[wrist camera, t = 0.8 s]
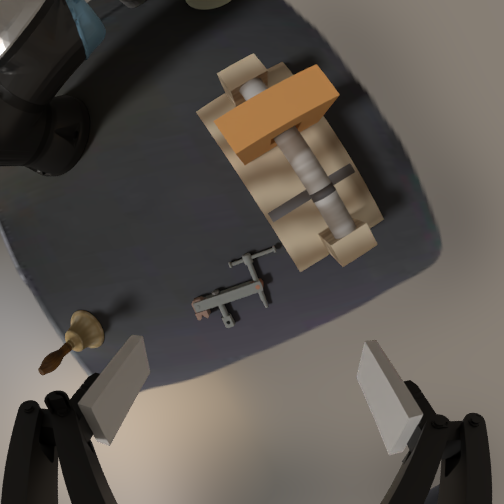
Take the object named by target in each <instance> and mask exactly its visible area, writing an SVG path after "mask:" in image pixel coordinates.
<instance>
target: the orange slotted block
mask: <svg viewBox="0 0 504 504" xmlns="http://www.w3.org/2000/svg"><path fill="white" fill-rule="evenodd" d="M339 95H340V94H339V93H338V92H337V90H336V89H335V88H334V86H333V85H332V84H331V82H330V81H329V80H328V78H327V77H326V76H325V74H324V73H323V72H322V70H321V69H320V68H319V67H318V65H317V64H316V65H314V66H312V67H309V68H307V69H305V70H303V71H301V72H299V73H297V74H295V75H293V76H291V77H289V78H287V79H285V80H283V81H281V82H279V83H277V84H275V85H274V86H272V87H270V88H268V89H266V90H264V91H263V92H261V93H259V94H257V95H256V96H254V97H252V98H250V99H249V100H247V101H245V102H243V103H242V104H240V105H238V106H237V107H235V108H234V109H232V110H230V111H229V112H227V113H225V114H224V115H222V116H221V117H219V118H218V119H216V120H215V121H213V122H214V123H215V124H216V126H217V127H218V129H219V130H220V132H221V133H222V135H223V136H224V137H225V139H226V140H227V142H228V143H229V145H230V146H231V148H232V149H233V151H234V152H235V154H236V155H237V156H238V157H239V159H240V160H241V161H242V162H243V164H244V165H246V164H248V163H250V162H251V161H253V160H254V159H256V158H258V157H259V156H261V155H262V154H264V153H266V152H267V151H269V150H271V149H272V148H274V147H276V146H277V144H276V142H275V141H274V139H273V138H274V137H276V136H278V135H279V134H281V133H283V132H284V131H286V130H288V129H290V128H291V127H293V126H296V128H297V129H298V131H299V132H301V131H303V130H305V129H307V128H308V127H310V126H312V125H314V124H315V123H317V122H319V120H320V119H321V118H322V117H323V115H324V114H325V113H326V112H327V110H328V109H329V108H330V106H331V105H332V104H333V103H334V101H335V100H336V99H337V98H338V96H339Z"/></svg>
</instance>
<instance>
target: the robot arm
mask: <svg viewBox="0 0 504 504" xmlns="http://www.w3.org/2000/svg"><path fill="white" fill-rule="evenodd" d="M105 33H106V31H105V27H104V25H103V23H102V22H101V21H100V19H99V18H98V16H97V15H96V14H95V12H94V11H93V10H92V9H91V7H90V6H89V5H88V4H87V3H86V2H85V0H0V166H25V167H27V168H29V169H31V170H33V171H35V172H37V173H38V174H40V175H43V176H59V175H62V174H64V173H66V172H67V171H69V170H70V169H71V168H72V167H73V166H74V165H75V164H76V163H77V161H78V160H79V158H80V157H81V155H82V153H83V151H84V149H85V146H86V143H87V140H88V136H89V129H90V119H89V114H88V110H87V108H86V106H85V105H84V103H83V102H82V101H80V100H79V99H77V98H74V97H72V96H68V95H61V96H56V97H54V96H55V95H56V93H57V92H58V91H59V90H60V88H61V87H62V86H63V85H64V83H65V82H66V81H67V80H68V79H69V77H70V76H71V75H72V74H73V73H74V72H75V70H76V69H77V68H78V67H79V66H80V65H81V64H82V63H83V61H84V60H87V59H88V58H89V55H90V54H91V53H92V52H93V51H94V50H95V49H96V47H97V46H98V45H99V44H100V43H101V42H102V41H103V39H104V38H105ZM149 374H150V369H149V364H148V360H147V355H146V350H145V345H144V340H143V336H136V335H131V336H130V338H129V339H128V340H127V341H126V343H125V344H124V345H123V346H122V348H121V349H120V350H119V351H118V352H117V354H116V355H115V356H114V357H113V359H112V360H111V361H110V362H109V364H108V365H107V366H106V368H105V369H104V370H103V371H102V373H101V374H99V373H94V374H92V375H91V376H89V377H88V378H87V379H86V380H85V382H84V384H82V385H81V387H80V389H78V390H77V391H76V393H75V394H74V395H73V396H72V398H71V399H69V397H68V395H67V394H66V393H65V392H63V391H53V392H51V393H49V394H47V396H46V397H45V400H44V402H45V404H46V406H47V407H48V409H41V408H40V406H39V404H38V403H37V402H36V401H33V400H29V401H25V402H23V403H22V404H21V405H20V407H19V409H18V413H17V416H16V420H15V424H14V428H13V432H12V436H11V441H10V445H9V450H8V454H7V460H6V466H5V472H4V479H3V487H2V499H1V504H58V457H59V461H60V465H61V469H62V473H63V477H64V480H65V484H66V487H67V490H68V493H69V496H70V500H71V503H72V504H117V502H116V500H115V498H114V496H113V494H112V492H111V489H110V487H109V485H108V483H107V480H106V478H105V476H104V473H103V471H102V468H101V466H100V463H99V461H98V458H97V455H96V452H95V450H94V447H93V444H92V442H91V440H90V439H91V437H92V435H94V437H95V439H96V440H97V442H100V443H103V444H106V445H109V446H110V444H111V443H112V441H113V439H114V437H115V435H116V433H117V431H118V430H119V428H120V426H121V424H122V422H123V420H124V418H125V417H126V415H127V413H128V411H129V409H130V407H131V406H132V404H133V402H134V400H135V398H136V397H137V395H138V393H139V391H140V390H141V388H142V386H143V384H144V382H145V381H146V379H147V377H148V375H149ZM356 377H357V380H358V382H359V384H360V387H361V389H362V391H363V394H364V396H365V398H366V401H367V403H368V405H369V407H370V410H371V412H372V415H373V417H374V419H375V422H376V424H377V427H378V429H379V432H380V434H381V437H382V439H383V441H384V444H385V447H386V449H387V452H388V454H389V455H392V454H396V453H400V452H403V450H404V448H405V447H406V445H408V447H409V452H408V454H407V455H406V457H405V458H404V460H403V461H402V462H403V464H402V466H401V468H400V470H399V472H398V474H397V475H396V477H395V479H394V481H393V483H392V485H391V487H390V488H389V490H388V492H387V494H386V495H385V497H384V499H383V500H382V502H381V504H424V502H425V499H426V497H427V495H428V493H429V490H430V488H431V485H432V483H433V480H434V477H435V474H436V472H437V469H438V467H439V464H440V461H441V460H442V461H441V476H440V487H439V496H438V504H492V476H491V462H490V452H489V443H488V436H487V430H486V424H485V420H484V418H483V417H482V416H481V415H479V414H477V413H469V414H467V415H466V416H465V418H464V419H463V421H449V419H448V418H446V417H445V416H443V415H438V414H436V413H435V411H434V410H433V408H432V407H431V405H430V404H429V402H428V401H427V399H426V398H425V396H424V395H423V393H421V390H420V389H419V387H418V386H417V385H416V384H415V383H413V382H412V381H411V380H409V381H403V380H402V379H401V377H400V376H399V374H398V373H397V371H396V369H395V368H394V366H393V365H392V363H391V362H390V360H389V359H388V357H387V356H386V354H385V353H384V351H383V350H382V348H381V347H380V345H379V344H378V342H377V341H376V340H372V341H365V342H364V347H363V351H362V356H361V360H360V364H359V368H358V373H357V376H356Z"/></svg>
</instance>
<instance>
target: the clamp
mask: <svg viewBox="0 0 504 504" xmlns="http://www.w3.org/2000/svg"><path fill="white" fill-rule="evenodd" d="M273 251H274V252H276V248H275V246H272V248H271V249H268V250H265V251H262V252H260V253H257V254H254V255H251V254H250V253H247V254H244V255H243V256H242V258H243V259H240V260H238V261H235V262H232V263H231V262H229V267H230V268H232V267H233V266H234V265H237V264H240V263H242V262H244V263H245V265H247V266H248V268H249V271H250V273H251V276H252V278H253V280H251V281H249V282H246V283H243V284H240V285H237V286H234V287H231V288H228V289H226V290H223V291H220V292H219V290H214V291H213V292H212V294H211V295H208V296H205V297H202V296H200V297H197V298H194V300H193V302H192V304H191V305H192V307H193V309H194V311H195V315H196V317H197V319H198V320H201V318H202V316H204V317H206V318H208V317H209V315H210V313H211V311H210V308H213V307H216V306H219V309H220V311H221V313H222V315H223V316H222V317H221V318H222V320H223V322H224V324H225V326H226V328H230V327H233V326H234V325H235V322H234V319H233V317H232V315H231V313H228V311H227V309H226V307H225V305H224V304H225V303H228V302H231V301H234V300H237V299H240V298H243V297H246V296H249V295H252V294H255V293H259V295H260V298H261V300H262V301H263V303H264V306H265V308H267V307H268V304H267V301H266V297H265V294H264V292H263V281H262V279H258V277H257V274H256V272H255V269H254V267H253V264H252V262H253V259H254V258H256V257H259V256H262V255H265V254H267V253H270V252H273ZM252 281H253V283H252ZM228 321H230V322H228Z"/></svg>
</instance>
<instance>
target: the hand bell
mask: <svg viewBox="0 0 504 504" xmlns="http://www.w3.org/2000/svg"><path fill="white" fill-rule="evenodd" d="M65 340H66V343H65V344H64V345H63V346H62V347H61V348H60V349H59V350H57V351H55V352H52V353H50V354H49V355H48V356H46V357H45V358H44V360H43V361H42V364H41V366H40V368H39V369H38V370H39V372H40V374H41V375H45V374H47V373H50V372H52V371H54V370H55V369H56V368H57V367H58V366H59V365H60V363H61V361H62V359H63V357H64V356H65V355H66V354H68V353H69V352H70V351H71V350H72V349H73V350H74V351H78V352H79V351H82V350H83V349H85V348H86V347H90V348H97V347H99V346H101V345H102V343H103V341H104V332H103V329H102V327H101V325H100V323H99V321H98V320H97V319H96V318H95V317H94V316H93V315H92V314H90V313H89V312H86V311H83V310H79V311H76V312H75V313H74V314H73V315H72V318H71V327H70V328H69V330H68V331H67V332H66V334H65Z"/></svg>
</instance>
